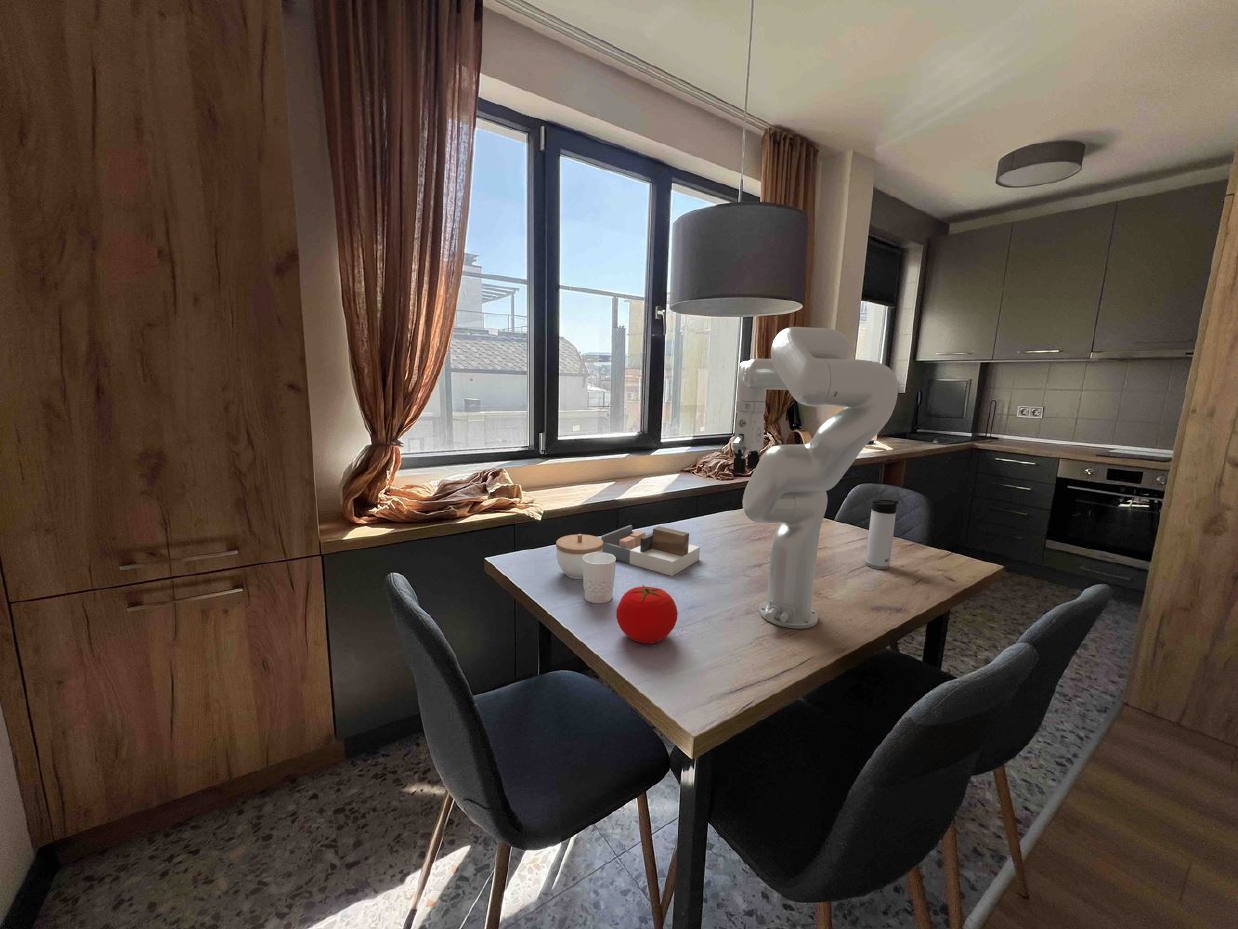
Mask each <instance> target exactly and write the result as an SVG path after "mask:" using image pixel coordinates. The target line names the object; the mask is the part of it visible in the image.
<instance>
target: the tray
mask: <svg viewBox="0 0 1238 929" xmlns="http://www.w3.org/2000/svg"><path fill="white" fill-rule="evenodd" d="M635 532H636V531H633V525H632V524H629V525H626V526H624V527H621V528H619V529H616V530H614V531H611V532H608V533H606V534H603V535H601V537H600V539H602V541H603V553H609V554H612V555H614V556H615V557H616V561H620V562H623V563H627V564H629V565H631V564H630V550H632V549H628V548H624V547H620V546H619V540H621V539H623V538H626V537H628V536H630V534H633V533H635ZM647 535H648V534H645V536H647Z"/></svg>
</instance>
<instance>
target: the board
mask: <svg viewBox="0 0 1238 929" xmlns="http://www.w3.org/2000/svg"><path fill="white" fill-rule="evenodd" d="M700 550H701V546H698V545H694V544H691V543H689V546H688V554H686V555H684V556H683V557H682V556H679V555H675V554H671V553H667V552H663V551H659V550H656V549H650V550H648V551H646V552H640V546H638V547H636V548H634V549H632V550H630V564H629V565H633V566H637V567H640V568H643V569H647V570H651V571H654V572H657V573H660V574H663V575H664V574H665V575H667V576H671V577H672V576H675V575H676V574H678V573H679V572H681V571H683V570H685V569H686V568H688V567H689V566H692V564H694V563H696V562H698V561H700V553H701V552H700Z"/></svg>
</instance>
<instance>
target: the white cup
mask: <svg viewBox="0 0 1238 929" xmlns="http://www.w3.org/2000/svg"><path fill="white" fill-rule="evenodd" d="M616 562H617V560H616V557H615V556H614V555H612V554H609V553H603V552H594V553H589V554H586V555H584V556H583V579H582V580H583V591H584V599H585V600H586V602H589V603H592V604H605V603H608V602H610V601H612V599H613V592H614V587H615V586H614V584H615V574H616Z"/></svg>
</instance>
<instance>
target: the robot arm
mask: <svg viewBox="0 0 1238 929" xmlns="http://www.w3.org/2000/svg"><path fill="white" fill-rule="evenodd" d="M851 348H852V347H851V342H850V340H849V339H848V337H847V336H846V335H845V334H844V333H843V332H841V331H839V330H837V329H834V328H829V327H828V328H827V327H808V326H807V327H805V326H804V327H803V326H790V327H786V328H784V329H782V330H781V331H780V332H778V334H777V335H776V337H774V339H773V341H772V344H771V348H770V358H752V359H750V360H744V361H742V362H739V365H738V373H737V374H738V376H737V387H736V388H737V391H736V392H737V393H736V405H735V414H736V415H737V416H736V420H735V421H736V422H735V429H734V430H735V431H734V438H733V439H734V440H733V443H732V447H733V449H732V451H733V456H732V457H733V465H732V466H733V467H732V473H735V474H741V475H743V474H745V473H746V468H747V469H751V470H753V473H752V474H751V476H750V478H749V481H748V482H747V485H746V486H745V489H744V493H743V495H742V509H743V512H744V514H745V516H746V517H747V518H748V519H749V520H750V521H752V522H755V523H759V524H761V523H762V524H777V523H779V524H778V526H777V527H776V529H775V531H774V533H773V536H772V539H771V548H770V558H769V560H770V562H769V572H768V581H767V582H768V583H767V584H768V585H767V596H766V600H763V601H762V602H761V603H760V604H759V606H758V612H759V614H760V616H761V617H762V618H763V619H765V620H766V621H767V622H770V623H771V624H773V625H776V626H779V627H783V628H787V629H798V630H801V629H810V628H813V627H815V625H817V624H818V622H819V621H818V620H819V615H818V613H817V612H816V610H815V609H813V608H812V606H813V596H814V586H815V585H814V584H815V576H816V568H817V566H816V564H817V557H818V556H817V555H818V545H819V538H820V532H821V528H822V523H823V520H824V517H825V514H826V510H827V506H828V494H827V491H830V490H832V488H834V487H835V486H836V485H837V484H838V483H839V482H840V480H841V479H842V478H843V476H844V475H845V474H846V473H847V471H848V470H849V468H850V467H851V466H852V465H853V463H854V462H855V461H856V459H857V458H858V456H859V455H860V453H861V451H862V450H863V449H864V448H865V447H866V446H867V445H868V444H869V443H870V442H871V441H872V440H873V439H874V438H875V437H876V436H877V435H878V434H879V433H880V431H882V429H883V428H884V427H885V425H886V424H887V423H888V421H889V419H890V418H891V417H892V415H893V411H894V409H895V408H896V407H895V406H896V404H897V400H898V394H899V393H898V388H899V384H898V379H897V376H896V374H895V373H894V371H893V370H892V369H891V368H890V367H889V366H887V365H886V364H883V363H881V362H877V361H873V360H867V359H857V358H856V359H853V358H849V357H850V355H851ZM767 390H779V391H781V390H782V391H788V392H789V393H790V395H791V397H792V398H793V399H794V400H795V401H796V402H797V403H798V404H801V405H802V406H807V407H824V408H825V407H827V408H828V407H829V408H831V407H832V408H843V409H842V410H840V411H839V412H836V413H835V414H834V415H832V416H831V417H829V418H828V419H826V420H825V421H824V422H823V423H822V424H821V425H820V426H819V427H818V429H817V430H816V432H815V434H814V436H813V437H812V438H811V439H810V441H809V442H806V443H803V444H802V443H801V444H778V445H774V446H771V447H769V448H768V449H767V450H766V451H764V453H763V454H762V456H761V457H760V454H761V449H762V448H763V447H764V440H765V439H764V434H765V420H764V419H765V418H764V417H765V416H764V415H765V411H766V400H767V398H766V397H767ZM748 452H749V453H748ZM746 455H747V459H746Z"/></svg>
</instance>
